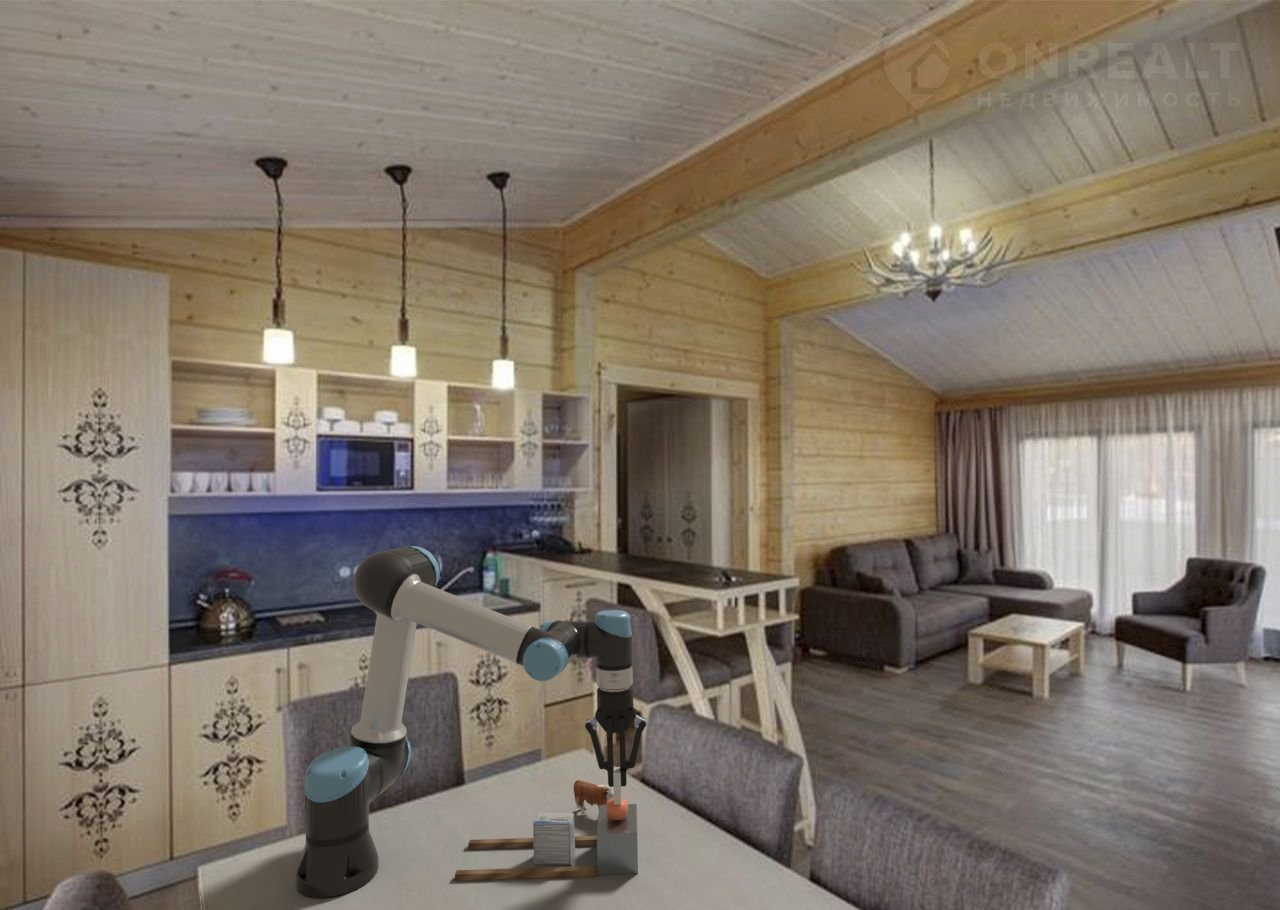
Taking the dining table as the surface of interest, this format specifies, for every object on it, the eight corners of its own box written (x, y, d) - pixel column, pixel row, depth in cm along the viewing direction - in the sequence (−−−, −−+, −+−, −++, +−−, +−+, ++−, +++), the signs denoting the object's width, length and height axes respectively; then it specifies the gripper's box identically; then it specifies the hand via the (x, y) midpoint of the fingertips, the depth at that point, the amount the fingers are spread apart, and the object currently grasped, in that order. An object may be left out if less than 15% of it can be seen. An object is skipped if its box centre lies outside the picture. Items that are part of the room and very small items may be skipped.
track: (454, 880, 137) (454, 874, 137) (469, 845, 150) (469, 839, 150) (597, 876, 138) (597, 870, 138) (600, 841, 151) (600, 835, 151)
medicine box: (575, 854, 146) (574, 812, 146) (571, 866, 142) (570, 822, 142) (538, 853, 147) (537, 811, 147) (533, 865, 142) (532, 822, 142)
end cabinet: (597, 874, 138) (596, 833, 138) (600, 842, 150) (599, 805, 150) (638, 873, 138) (637, 832, 139) (637, 841, 150) (636, 803, 151)
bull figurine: (614, 829, 156) (613, 792, 156) (570, 812, 164) (569, 777, 164) (626, 821, 159) (625, 785, 160) (582, 805, 168) (581, 770, 168)
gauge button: (606, 840, 142) (606, 808, 142) (607, 829, 147) (606, 798, 147) (628, 839, 142) (627, 807, 142) (628, 828, 147) (627, 797, 147)
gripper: (582, 693, 141) (585, 811, 141) (646, 691, 142) (649, 809, 141) (584, 682, 149) (587, 794, 148) (645, 680, 149) (648, 792, 148)
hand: (617, 801), depth 145 cm, fingers closed
